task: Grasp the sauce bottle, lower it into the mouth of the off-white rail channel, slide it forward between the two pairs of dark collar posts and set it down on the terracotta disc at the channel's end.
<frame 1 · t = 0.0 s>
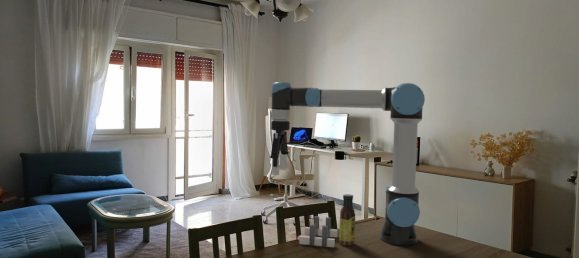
hand: (279, 172, 162), 28 cm above the table, fingers open, 13 cm apart
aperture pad: (307, 239, 165), on the table
collar track: (318, 240, 164), on the table
sauce bottle: (346, 244, 160), on the table
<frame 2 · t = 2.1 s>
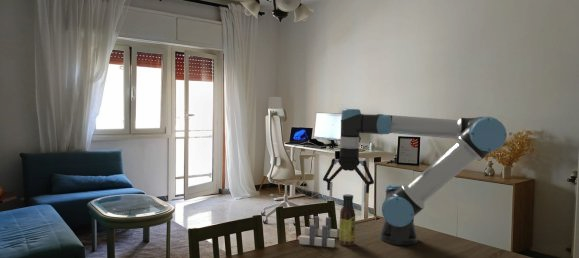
hand: (347, 199, 159), 18 cm above the table, fingers open, 13 cm apart
nothing on the table moved.
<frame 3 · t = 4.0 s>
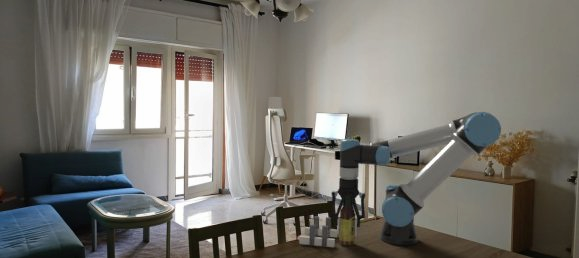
hand: (347, 234, 160), 4 cm above the table, fingers closed on sauce bottle, 6 cm apart
sauce bottle: (346, 244, 160), on the table, touching gripper
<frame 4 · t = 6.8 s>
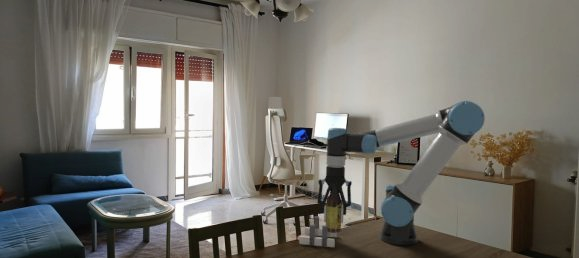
hand: (333, 221, 162), 8 cm above the table, fingers closed on sauce bottle, 6 cm apart
sauce bottle: (333, 231, 162), point 4 cm above the table, touching gripper
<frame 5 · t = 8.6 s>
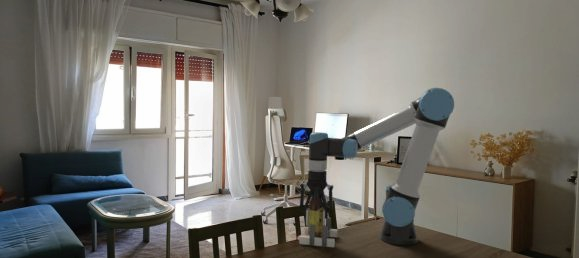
hand: (315, 225, 164), 6 cm above the table, fingers closed on sauce bottle, 6 cm apart
sauce bottle: (315, 234, 164), point 2 cm above the table, touching gripper
when the fingers open (5 cm above the table, at t = 10.0 s): sauce bottle stays where it is, resting on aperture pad.
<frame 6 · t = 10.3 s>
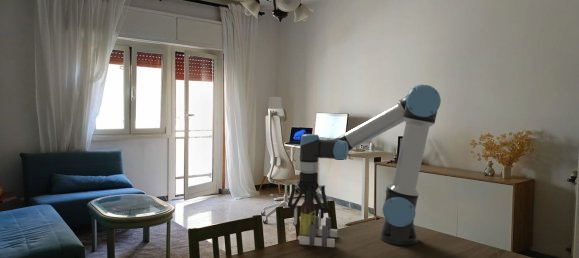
hand: (307, 224, 164), 6 cm above the table, fingers open, 9 cm apart
sauce bottle: (306, 237, 165), resting on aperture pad
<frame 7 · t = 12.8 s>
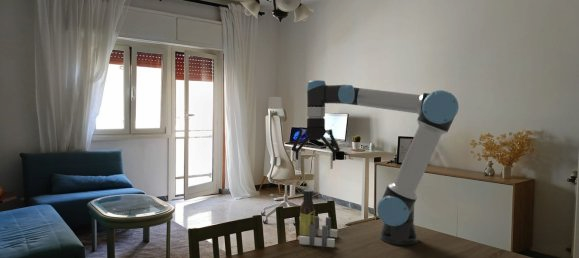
hand: (315, 168, 166), 29 cm above the table, fingers open, 13 cm apart
nothing on the table moved.
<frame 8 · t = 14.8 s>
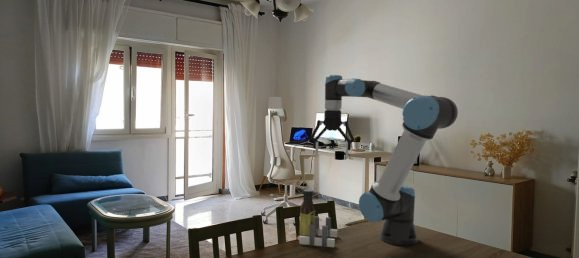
hand: (331, 156, 179), 33 cm above the table, fingers open, 13 cm apart
nothing on the table moved.
at the end: sauce bottle inside the target area (0.1 cm from its centre), resting on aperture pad; sauce bottle tilted 0°; the gripper is holding nothing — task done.
